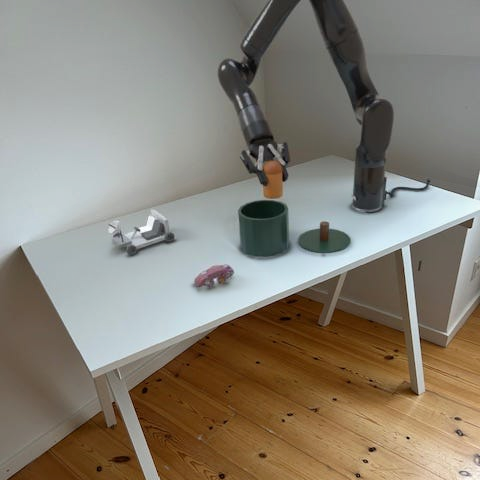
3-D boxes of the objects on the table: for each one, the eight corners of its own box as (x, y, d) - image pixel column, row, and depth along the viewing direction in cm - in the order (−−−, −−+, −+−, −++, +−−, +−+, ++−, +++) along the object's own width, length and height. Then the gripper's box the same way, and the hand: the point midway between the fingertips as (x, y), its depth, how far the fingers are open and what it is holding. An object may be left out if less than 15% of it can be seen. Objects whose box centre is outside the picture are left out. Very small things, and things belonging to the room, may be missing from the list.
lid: (328, 227, 147) (329, 208, 144) (360, 245, 136) (362, 225, 133) (288, 240, 142) (288, 221, 138) (318, 260, 131) (319, 239, 128)
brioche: (276, 190, 138) (275, 156, 132) (286, 195, 134) (286, 161, 128) (259, 194, 136) (258, 160, 130) (269, 200, 132) (268, 165, 126)
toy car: (112, 228, 134) (97, 215, 142) (119, 259, 140) (105, 245, 148) (170, 210, 142) (153, 198, 150) (175, 240, 147) (158, 228, 155)
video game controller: (199, 296, 124) (201, 280, 118) (192, 282, 125) (194, 266, 119) (234, 284, 127) (237, 269, 121) (226, 271, 129) (229, 255, 123)
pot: (272, 232, 147) (270, 196, 140) (297, 249, 137) (297, 211, 130) (232, 244, 142) (229, 207, 136) (256, 263, 132) (254, 224, 126)
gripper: (233, 123, 128) (255, 181, 125) (282, 114, 132) (304, 170, 130) (227, 139, 135) (248, 194, 133) (274, 130, 139) (294, 183, 137)
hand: (275, 182), depth 131 cm, fingers closed on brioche, 5 cm apart
